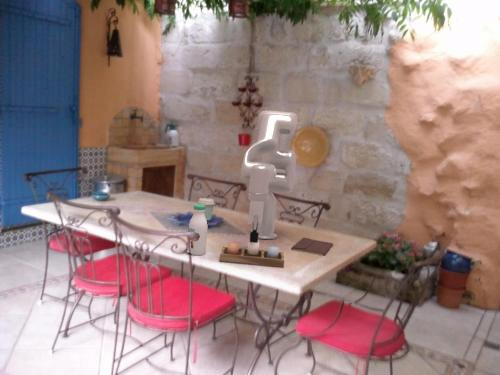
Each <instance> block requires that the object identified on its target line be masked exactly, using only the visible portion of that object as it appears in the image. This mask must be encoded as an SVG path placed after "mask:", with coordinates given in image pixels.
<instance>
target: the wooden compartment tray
mask: <svg viewBox="0 0 500 375" xmlns="http://www.w3.org/2000/svg"><path fill="white" fill-rule="evenodd" d="M227 250H228V246H223V247H222V249H221V251H220V255H219V262H220V263H226V264H227V263H228V264H239V265H240V264H241V265H249V266H259V267H268V268H269V267H270V268H279V269H284V268H285V266H284V265H285V253H284V252H283V251H279V253H278V259H274V258H267V252H268V250H264V249H263V250H262V249H261V250H260V249H259V251H258V254H256V255H252V254H248V253H247V251H248V248H240V247H239V250H238V255H233V254H227Z"/></svg>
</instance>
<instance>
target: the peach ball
mask: <svg viewBox="0 0 500 375" xmlns="http://www.w3.org/2000/svg"><path fill="white" fill-rule="evenodd" d="M227 247H228V250H227V254H233V255H238V250H239V248H240V244H239V243H238V242H235V241H234V242H233V241H232V242H231V241H230V242H227Z"/></svg>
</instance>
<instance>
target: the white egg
mask: <svg viewBox="0 0 500 375" xmlns="http://www.w3.org/2000/svg"><path fill="white" fill-rule="evenodd" d="M247 249H248V251H247V253H248V254H252V255H256V254H258V251H259V250H260V241H258V242H257V243H255V242H250V240H248V242H247Z"/></svg>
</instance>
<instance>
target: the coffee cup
mask: <svg viewBox="0 0 500 375" xmlns="http://www.w3.org/2000/svg"><path fill="white" fill-rule="evenodd" d="M214 200H215V199H213V198H208V197H201V198H199V199H198V202H197V204H202V205H205V211H204V214H205V218H206V220H210V219H211V220H212V217H213V212H214V206H215V201H214Z"/></svg>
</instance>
